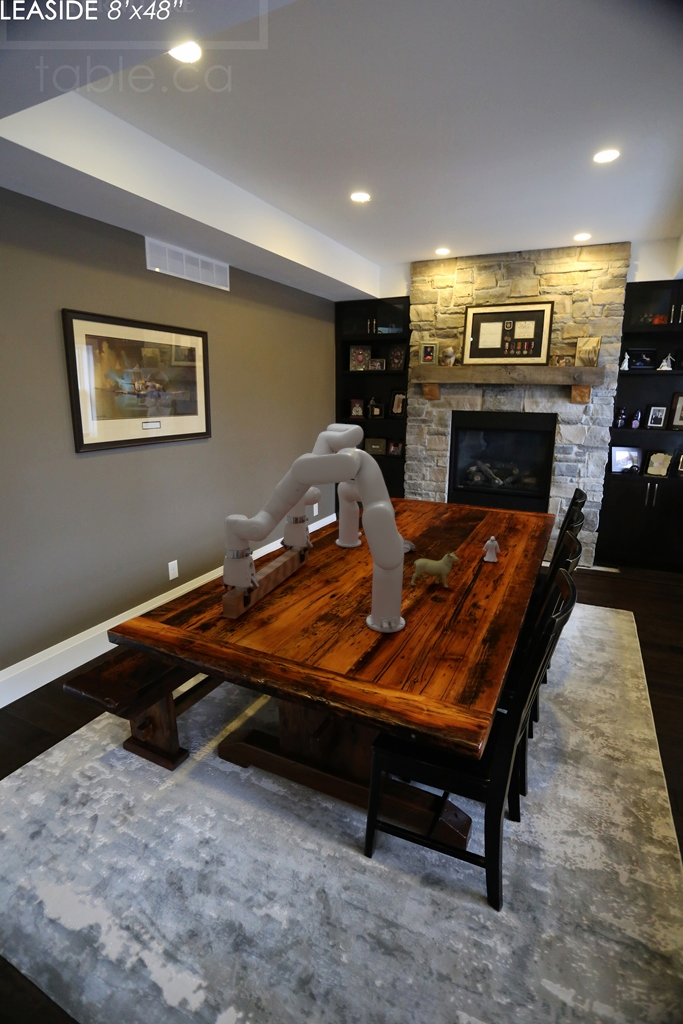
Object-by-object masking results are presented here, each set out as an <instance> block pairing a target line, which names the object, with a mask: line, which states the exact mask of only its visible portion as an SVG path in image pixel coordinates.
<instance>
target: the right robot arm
mask: <svg viewBox="0 0 683 1024" xmlns="http://www.w3.org/2000/svg"><path fill="white" fill-rule="evenodd" d="M353 477H354V479H352V478H353ZM348 480H354V481H356V484H357V488H358V492H359V494H360V497H361V501H362V502H361V504H362V509H363V512H362V516H361V523H362V528H363V532H364V536H365V538H366V542H367V545H368V548H369V552H370V556H371V558H372V561H373V563H372V585H371V586H372V587H371V607H370V609H371V613H370V615H368V616H367V617H366V621H365V622H366V623H365V624H366V625H367V627H368V628H369V629H372V630H373V631H376V632H379V633H396V632H398V631H402V630H403V629H404V628H405V626H406V620H405V618H403V617H402V615H401V614H402V599H403V598H402V597H403V580H404V561H405V552H404V540H405V539H404V538H403V536H402V534H401V533H400V532H399V531H398V527H397V523H396V519H395V516H396V515H395V509H394V507H393V504H392V501H391V498H390V495H389V491H388V488H387V486H386V482H385V479H384V476H383V473H382V470H381V467H380V466H379V464H378V462H377V461H376V459H375V458H374V457H373V456H372V455H371V454H369V453H368V452H366V451H365V450H362V449H360V448H357V447H356V448H344V449H341V450H340V451H338V452H336V453H333V454H329V455H321V456H317V455H315V454H312V452H307V453H304V454H302V455H301V456H299V457H298V458H296V459H295V460H294V461H293V463H292V464H291V467H290V468H289V470H288V471H287V473H285V475H284V476H283V477H282V478H281V479H280V481H279V482H278V483H277V484H276V485H275V487H274V489H273V493H272V495H271V496H270V498H269V499H268V501H267V502H266V503H265V505H264V506H262V508H260V509H259V512H258V513H257V514H255V515H254V516H253V517H251V518H248V516H246V515H244V514H235V513H234V514H229V515H227V516H226V517H225V519H224V537H225V556H224V559H223V567H222V577H221V579H220V580H219V583H220V584H221V585H222V586H223V587H224V589H225V590H226V593H228V592H229V591H231V590H232V589H233V588H235V587H236V586H238V587H243V589H244V593H245V595H244V607H247V606H248V605H249V604H250V603H251V593H252V592H253V591H254V590H256V589H257V588H258V587H259V584H258V583H257V581H256V574H255V573H256V567H255V561H254V558H253V556H252V555H253V554H254V552H253V550H251V547H250V542H256V543H257V542H262V541H264V540H266V539H267V538H268V537H269V536H270V534H271V533H272V532H273V531H274V530H275V529H276V528H277V527H278V525H279V524H280V523H281V521H282V520H283V519H284V518H285V517H286V516H287V513H288V512H289V511H290V510H291V509H292V508H293V507H294V506H295V505H296V504H297V503H298V502H299V501H300V499H301V498H302V497H303V496H304V495H305V493H306V492H307V491H308V490H309V489H310V488H311V487H313V486H319V485H328V484H339V483H340V482H345V481H348ZM250 584H252V585H253V587H252V588H251V585H250Z"/></svg>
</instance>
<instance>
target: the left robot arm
mask: <svg viewBox="0 0 683 1024" xmlns="http://www.w3.org/2000/svg"><path fill="white" fill-rule="evenodd" d="M363 439H364V430H363V428H362V427H361V426H360V425H357V424H348V423H347V424H345V423H331V424H329V425H327V427H326V430H325V431H321V432H320V433H319V434H318V436H317V439H316V441H315V443H314V447H313V449H312V451H311V453H312V454H315V455H317V456H321V455H329V454H334V452H336V453H337V452H338V451H340V450H341V449H344V448H356V449H357V446H359V445H360V444H361V443H362V441H363ZM337 495H338V502H339V511H338V513H339V514H338V519H339V520H338V538H337V539H336V540H335V545H337V546H338V547H342V548H355V547H356V548H357V547H360V546H361V545H362V540H360V539H359V538H360V537H361V536H363V534H362V532H361V531H359V527H360V507H359V504H358V502H359V503H362V501H361V497H360V494H359V492H358V488H357V484H356V481H355V479H354V477H353V478H352V479H351V480H348V481H345V482H339V483H338V485H337ZM321 499H322V492H321V490H320V489H319V488H317V487H315V486H311V488H310V489H309V490H308V491H307V492H306V493H305V495H304V496H303V497H302V498H301V499H300V501H299V502H298V503H297V504H296V505H295V506H294V507H293V508H292V509H291V510H290V511H289V512H288V513H287V514H286V521H285V525H284V529H283V538H282V540H281V541H280V545H281V546H282V547H283V548H284V549H285V552H287V551H288V550H290V549H291V548H293V547H294V546H296V547H300V550H301V554H300V563H303V562H304V561H305V552H307V551H308V552H309V551H310V549H312V548H313V547H314V545H313V544H312V542H311V541H310V528H309V523H308V521H309V517H307V515H306V506H313V505H317V504H318V503H319V502H320V501H321ZM306 545H308V547H307V548H306V547H305V546H306Z"/></svg>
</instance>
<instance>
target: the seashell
mask: <svg viewBox="0 0 683 1024" xmlns="http://www.w3.org/2000/svg"><path fill="white" fill-rule="evenodd" d="M403 540H404V554H405V553H408V552H410V551H412V552H413V551H416V548H417V546H416V544H414V543H413V542H412V541H411V540H408V539H403Z"/></svg>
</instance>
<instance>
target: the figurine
mask: <svg viewBox="0 0 683 1024" xmlns="http://www.w3.org/2000/svg"><path fill="white" fill-rule="evenodd" d="M482 551H483V552H486V554H485V556H484V557H483V560H484V561H485V562H495V563H498V558H497V554H496V553H498V554H499V553H501V550H500V547H499V543H498V541H497V540H496V538H495V536H493V535H492V536H490V539H489V540H487V542H486V543H485V544H484V546H483V548H482Z"/></svg>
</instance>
